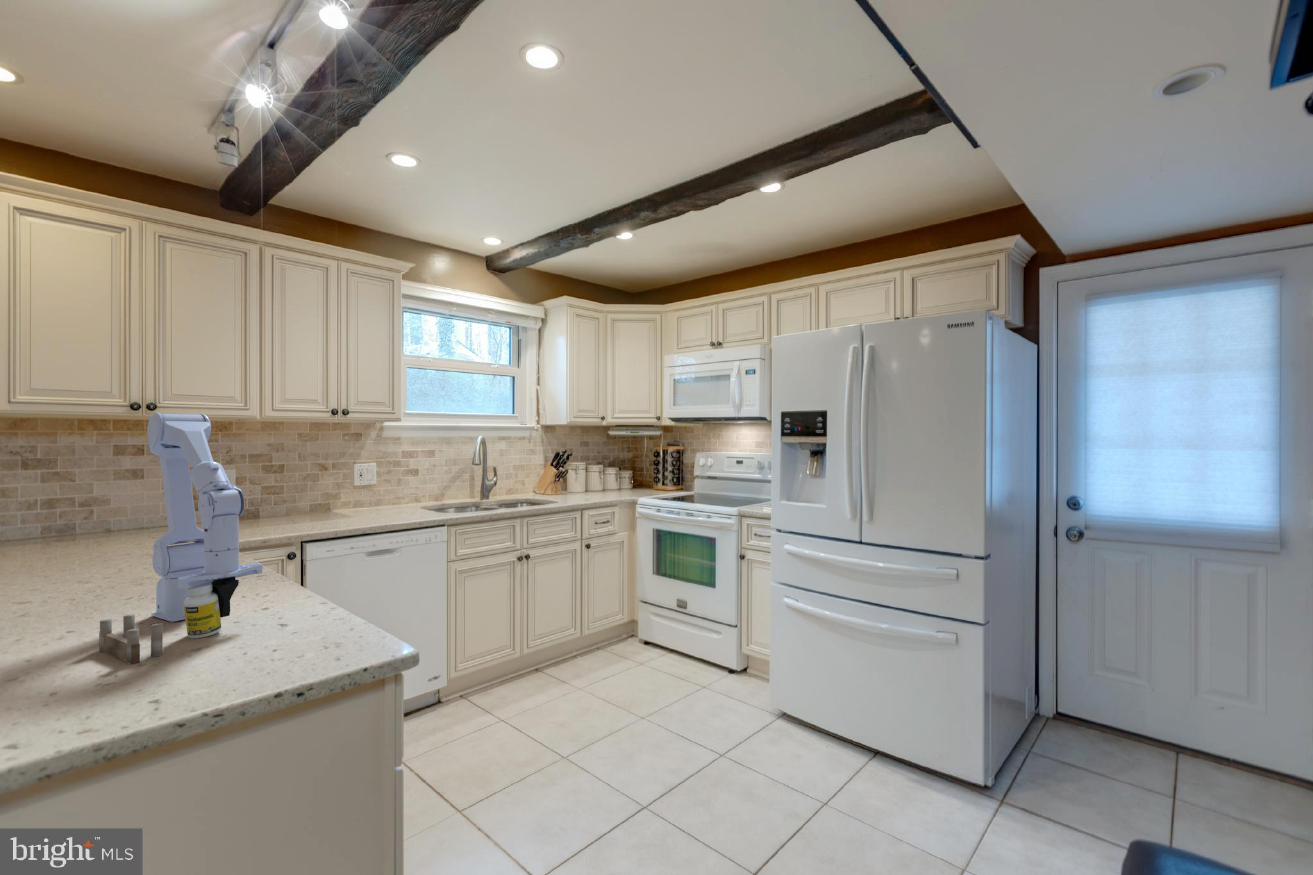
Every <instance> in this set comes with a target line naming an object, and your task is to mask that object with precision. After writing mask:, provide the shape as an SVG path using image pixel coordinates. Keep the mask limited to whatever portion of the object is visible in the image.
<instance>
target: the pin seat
mask: <svg viewBox="0 0 1313 875" xmlns="http://www.w3.org/2000/svg"><path fill="white" fill-rule="evenodd" d="M122 619H123V621H122V622H123V630H122V631H123V632H122V633H123V636H120V635H118V634H115V633H113V628H112V627H113V626H112V624H113V620H112V618H111V619H110V618H107V619H102V620H100V621H99V634H98V635H99V636H98V637H99V638H98V641H99V643H98V644H99V645H98V646H99V647H98V651H99V653H105V654H107V655H110V656H112V657H115V658H117V659H120V660H122V661H124V662H126V664H132V665H133V664H138V663H140V662H141V658H140V657H141V654H140V653H141V643H140V628H136V626H135V625H136V614H134V613H132V614H131V613H130V614H126V615H125V614H124V615H123V618H122ZM163 624H164V623H162V622H161V623H159V622H158V623H154V624H151V625H150V657H151V658H157V657H161V656H162V655H163V654H164V653H163V644H164V642H163V633H164V632H163V631H164V629H163V628H164V627H163Z"/></svg>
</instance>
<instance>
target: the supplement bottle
mask: <svg viewBox="0 0 1313 875" xmlns="http://www.w3.org/2000/svg"><path fill="white" fill-rule="evenodd" d="M186 590H187V595H188V596H189V597H188V598H187V599H186V600H185V601H184V611H185V619H184V620H185V628H186V634H187V637H188V638H189V639H202V638H207V637H209V636H213V635H216V634H217V633H219V632H220V631H222V630H221V629H222V622H221V620H222V619H221V617H220V610H219V602H218V596H217V594H215V593H212V592H211V591H212V590H213V589H212V583H207V584H202V585H197V586H192V587H189V588H186Z"/></svg>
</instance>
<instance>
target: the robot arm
mask: <svg viewBox="0 0 1313 875" xmlns="http://www.w3.org/2000/svg"><path fill="white" fill-rule="evenodd" d="M146 431H147V440H148V447H149V451H150V453H151V454H153V455H156V456H157V457H158V458H159V462H160V468H161V475H162V476H161V477H162V485H163V486H162V487H163V493H164V503H165V510H166V519H167V527H168V528H167V529H168V531H167V532H165V533H164V534H162V536H160V537H159V538H157V539H156V540H155V542H154V543H153V546H152V548H153V555H152V568H153V570H154V572H155V574H156V575H158V577H161V578H160V579H158V581H157V584H156V587H155V588H156V589H155V591H156V593H155V594H156V598H155V600H156V601H155V604H156V605H155V609H156V611H154V612H151V613H150V616H152V617H155V618H157V619H161V620H165V621H167V622H170V623H175V622H178V621H183V620H186V619H185V611H184V601H185V600H186V599H187V598H188V597H189V596H188V595H187V590H186V588H189V587H192V586H197V585H202V584H207V583H212V589H213V590H212V591H211V592H212V593H215V594H217V596H218V602H219V610H220V619H221V618H225V617H229V616H230V614H231V598H232V597H233V595H234V593H235V591H236V589H237V588H238V587H239V584H240V583H239V581H240V580H238V578H240V577H241V578H242V577H246V576H251V575H260V574H263V564H262V563H253V564H252V563H251V564H245V565H244V564H243V565H240V517H241V516H242V515H243V513H244V512H245V508H246V507H245V506H246V499H245V496H244V493H243V491H242V489H241V488H239V487H237V486H236V485H234V484H233V485H232V484H231V481H230V479H229V477H228V475H227V472H226V471H225V468H224V467H223V465H222V464H221V463H219V462H217V461H216V462H215V461H214V458H213V456H212V453H211V449H210V446H209V443H208V442H209V439H210V436H211V432H212V423H211V420H210V418H209V417H208V416H207V415H206V414H204V413H200V414H186V413H185V414H184V413H183V414H182V413H160V412H154V413H153V414H151V416H150V417H149V419H148V423H147V427H146ZM190 466H191V467H192V469H191V468H190ZM190 470H191V471H190ZM192 484H193V485H192ZM193 486H194V489H195V491H196V493H197V495H198V497H199V498H198V502H197V510H198V515H199V516H200V517H199V518H200V525H201V528H199V527H198V526H197V525H198V524H197V519H196V518H197V517H196V511H195V501H194V494H193ZM202 528H203V529H202ZM236 578H237V579H236Z"/></svg>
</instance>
